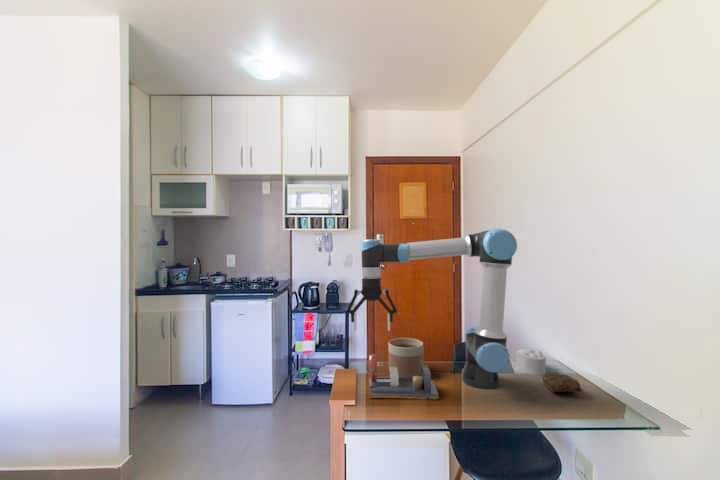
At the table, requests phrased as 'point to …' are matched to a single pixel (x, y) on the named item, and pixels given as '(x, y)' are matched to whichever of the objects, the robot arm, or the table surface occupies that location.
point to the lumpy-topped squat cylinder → (531, 361)
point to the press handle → (380, 382)
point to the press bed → (408, 387)
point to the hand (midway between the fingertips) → (372, 330)
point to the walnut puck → (417, 382)
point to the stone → (561, 382)
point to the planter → (406, 356)
